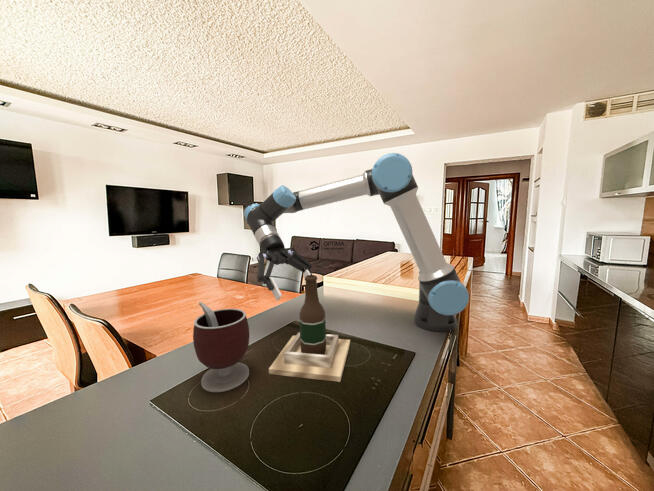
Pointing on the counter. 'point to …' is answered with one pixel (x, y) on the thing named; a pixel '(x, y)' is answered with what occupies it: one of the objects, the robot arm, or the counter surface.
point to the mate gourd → (221, 347)
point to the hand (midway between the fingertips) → (297, 292)
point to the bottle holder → (312, 360)
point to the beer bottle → (312, 320)
